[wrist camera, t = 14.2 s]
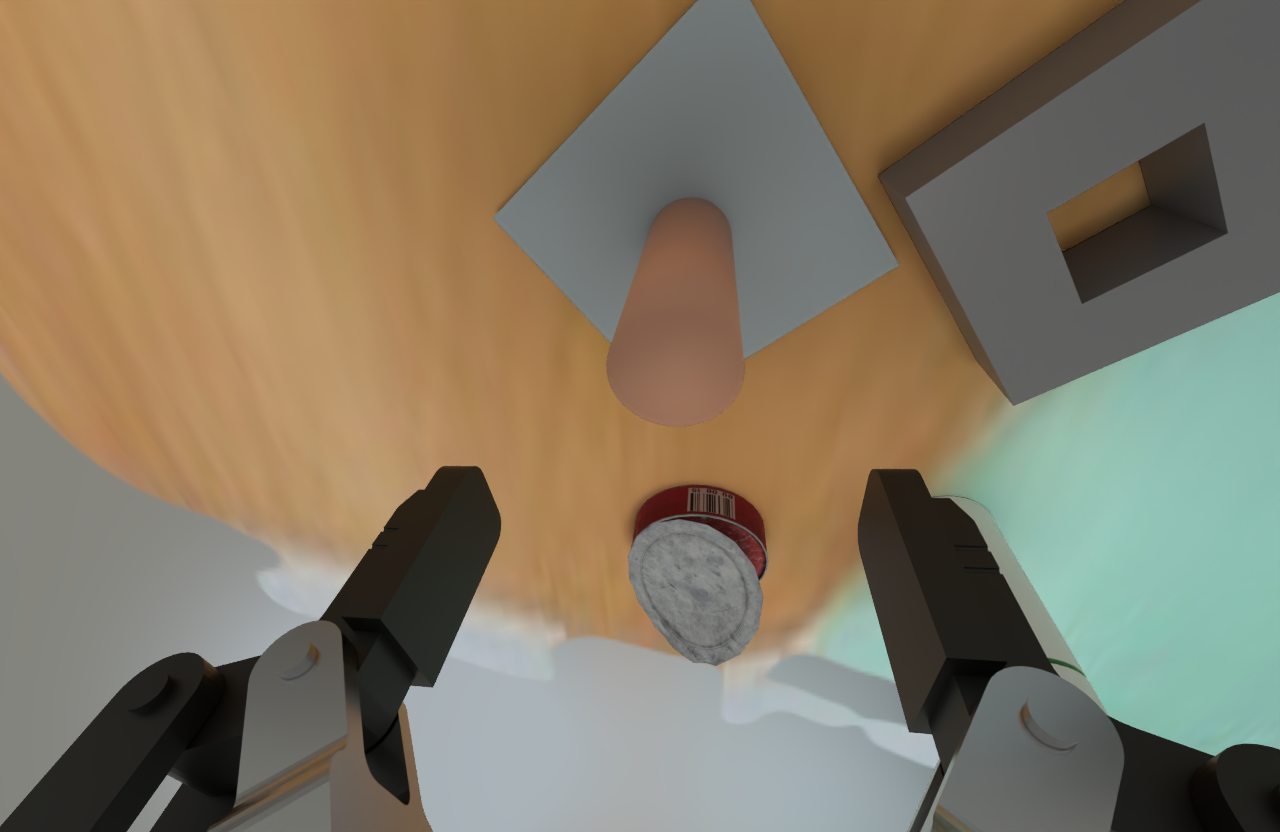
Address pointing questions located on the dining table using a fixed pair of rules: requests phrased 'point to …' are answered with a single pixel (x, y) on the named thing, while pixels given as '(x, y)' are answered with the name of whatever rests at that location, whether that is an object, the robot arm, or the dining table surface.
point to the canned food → (700, 570)
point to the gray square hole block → (1085, 156)
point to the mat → (703, 181)
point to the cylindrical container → (1028, 599)
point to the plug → (680, 321)
